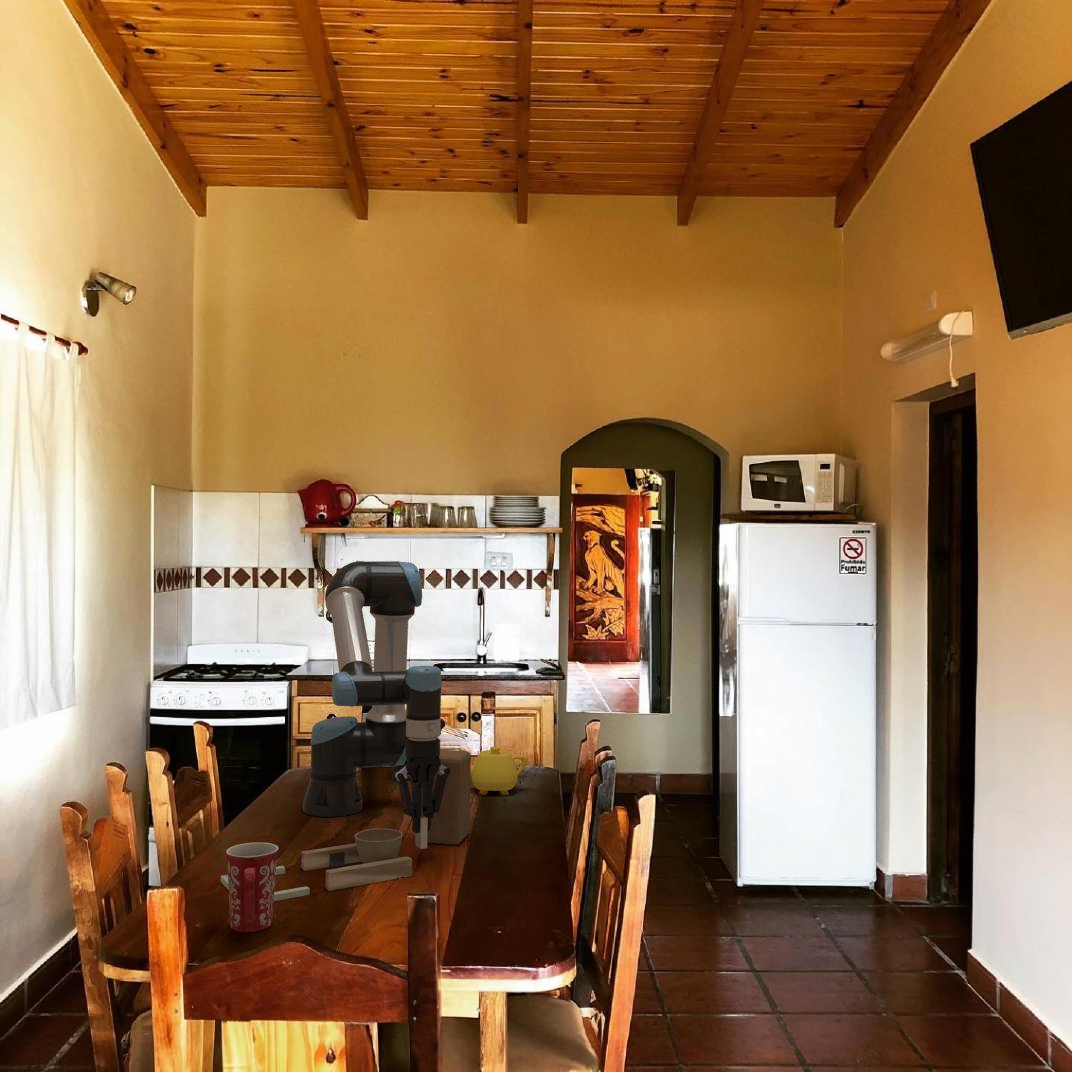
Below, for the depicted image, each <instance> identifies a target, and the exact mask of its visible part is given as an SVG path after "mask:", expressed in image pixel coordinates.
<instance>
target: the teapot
mask: <svg viewBox="0 0 1072 1072" xmlns="http://www.w3.org/2000/svg"><path fill="white" fill-rule="evenodd" d="M457 750H459V751H467V750H466V749H464V748H460V747H458V748H457ZM511 753H512V752H510V750H509V751H508V750H501V747H500V746H490V748H489V749H486V750H481V751H480V752H479V753H478V756H477V758H476V759H475V762H474V765H473V764H472V763H471V767H470V778H471V782H472V784H473V785H474V786H473V787H475V789H477V790H478V791H479V792H478V795H481V796H486V795H488V794H489V791H493V792H497V791H498V792H499V794H500V795H501V796H509V795H510V793H509V791H510V790H512V789H513V788H515V786H516V784H517V782H518V778H519V777H518V776H519V775H520V774H521V772H523V770H524V768H525V767H526V765H528V760H529V759H528V756H527V755H525V754H518V755H512V754H511ZM514 760H520V764H519V767H518V769H517V765H516V763H515V762H516V761H514Z"/></svg>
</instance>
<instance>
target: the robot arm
mask: <svg viewBox="0 0 1072 1072" xmlns="http://www.w3.org/2000/svg"><path fill="white" fill-rule="evenodd" d="M324 601H325V603H324V604H325V607H326V610H327V612H328V613H329V614H330V616H331V623H332V628H333V629H332V630H333V637H334V645H335V651H336V652H335V653H336V658H337V660H336V661H337V666H338V672H335V673H334V674H333V675H332V679H331V698H332V702H333V704H334V705H335V706H337V707H350V708H351V707H352V708H354V707H367V706H371V709H370V710H368V712H367V713H366V714H365V721H363V722H359V720H358V718H357V717H356V716H353V715H352V716H351V715H349V716H348V715H347V716H337V717H331V718H330V717H329V718H327V719H323V720H320V721H317V722H316V723H315V724H314V725H313V726H312V728H311V738H310V742H309V743H310V750H311V751H310V775H309V777H310V778H309V779H310V780H309V783H308V787H307V789H306V792H305V794H304V799H303V800H302V812H303V813H304V814H306V815H309V816H315V817H322V818H323V817H325V818H327V817H328V818H334V817H344V816H349V815H353V814H357V813H359V812H361V811H362V810H363V797H362V794H361V791H360V787H359V784H358V781H357V769H359V768H361V769H362V768H378V767H379V768H380V767H391V768H393V767H394V766H398V765H404V768H402V769H401V770H400V771H399V772H395V773H394V777H395V778H396V780H395V781H396V782H397V786H398V789H399V795H400V799H401V803H402V809H403V813H404V814H405V815H407V816H408V817H410V818H412V821H411V822H412V824H411V825H412V827H411V828H412V829H411V830H412V832H413V833H415V843H414V844H415V847H416V848H419V849H420V850H423V849H428V843H427V831H430V829H431V818H432V817H433V816H434V813H438V812H439V810H440V806H441V801H442V797H443V792H444V788H445V783H446V779H447V777H448V775H449V773H450V771H451V770H450V768H447V767H445V766H443V765H442V764H441V760H440V758H439V755H440V749H441V739H440V738H439V737H440V736H441V734H440V722H441V719H442V717H441V714H442V713H441V710H442V708H441V707H442V685H443V681H442V670H441V668H439V667H438V666H435V665H434V666H433V665H413V666H409V667H408V668H407V665H408V664H407V663H408V645H409V644H408V643H409V642H408V639H409V620H410V619H411V618H413V616H415V611H416V608H418V607H420V606H421V605H422V604H423V603H422V602H423V586H422V580H421V575H420V572H419V569H418V567H417V566H416V564H415V563H412V562H409V561H408V562H407V561H399V560H389V561H388V560H386V561H385V560H384V561H378V560H377V561H364V560H357V561H353V562H352V561H351V562H350V563H346V564H345V565H343V566H342V567H341V568H339V569H338V570H337V571H336V572H335V573H334V575H332V577H331V578H330V580H329V581H328V584H327V586H326V589H325V591H324ZM364 607H366V608H367V607H369V613H370V615H371V616H372V617H373V618H374V621H375V622H374V623H375V625H374V642H373V643H374V647H373V663H372V658H371V653H370V647H369V641H368V635H367V630H366V623H365V619H364V618H365V617H364V612H363V608H364ZM407 773H408V775H409V776H410V778H411V780H410V783H411V791H410V787H409V783H408V780H406V779H407ZM436 773H438V774H437V777H436V781H435V786H434V790H433V795H432V788H433V784H434V776H435V774H436ZM422 786H423V792H422ZM421 810H422V813H423V815H421Z"/></svg>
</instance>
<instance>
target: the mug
mask: <svg viewBox="0 0 1072 1072" xmlns="http://www.w3.org/2000/svg"><path fill="white" fill-rule="evenodd" d="M278 852H279V846H278V845H276V844H274V843H270V842H261V841H260V842H247V843H240V844H235V845H233V846H231V847H229V848H227V849H226V851H225V855H226V857H227V875H228V884H229V890H228V906H229V907H228V908H229V909H228V911H229V927H230V928H231V930H233V931H236V932H240V933H242V932H243V933H249V932H250V933H253V932H258V931H262V930H265V929H267V928H269V927H270V926H271V925H272V924H273V915H274V914H273V913H274V904H275V903H274V902H275V901H274V892H275V889H276V888H275V887H276V886H275V885H276V877H277V875H276V867H277V861H278Z"/></svg>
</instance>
